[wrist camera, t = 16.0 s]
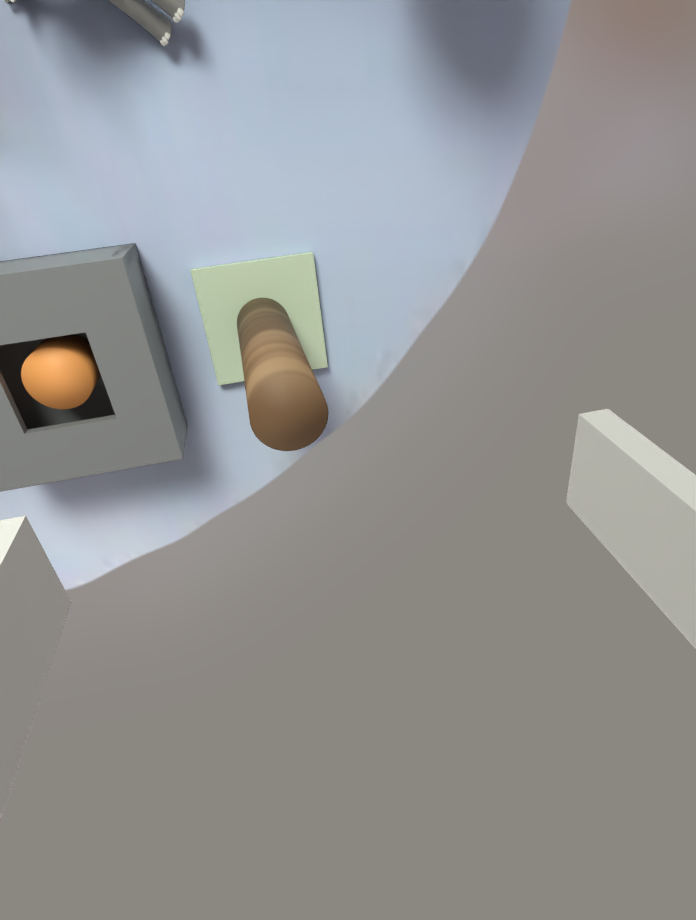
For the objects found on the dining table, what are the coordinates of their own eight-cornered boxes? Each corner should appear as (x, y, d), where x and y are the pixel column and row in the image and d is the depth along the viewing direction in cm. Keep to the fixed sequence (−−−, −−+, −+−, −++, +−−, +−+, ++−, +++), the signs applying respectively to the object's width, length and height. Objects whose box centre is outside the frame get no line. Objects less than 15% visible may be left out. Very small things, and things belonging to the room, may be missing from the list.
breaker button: (25, 338, 35) (9, 353, 32) (90, 328, 35) (79, 343, 33) (49, 395, 37) (36, 414, 34) (110, 385, 37) (101, 403, 35)
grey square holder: (-68, 271, 33) (-111, 290, 29) (135, 243, 34) (121, 258, 30) (21, 456, 40) (-3, 494, 36) (187, 427, 41) (183, 460, 37)
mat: (191, 268, 36) (190, 270, 35) (312, 251, 37) (313, 253, 36) (218, 382, 40) (218, 385, 39) (326, 364, 41) (327, 367, 40)
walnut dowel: (231, 302, 37) (241, 387, 24) (284, 293, 37) (322, 372, 24) (242, 353, 39) (258, 457, 26) (293, 344, 39) (332, 442, 26)
